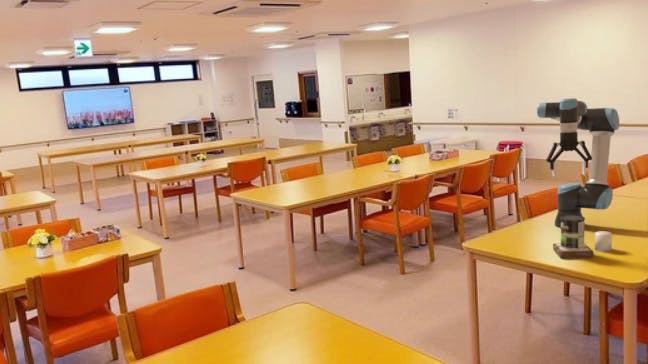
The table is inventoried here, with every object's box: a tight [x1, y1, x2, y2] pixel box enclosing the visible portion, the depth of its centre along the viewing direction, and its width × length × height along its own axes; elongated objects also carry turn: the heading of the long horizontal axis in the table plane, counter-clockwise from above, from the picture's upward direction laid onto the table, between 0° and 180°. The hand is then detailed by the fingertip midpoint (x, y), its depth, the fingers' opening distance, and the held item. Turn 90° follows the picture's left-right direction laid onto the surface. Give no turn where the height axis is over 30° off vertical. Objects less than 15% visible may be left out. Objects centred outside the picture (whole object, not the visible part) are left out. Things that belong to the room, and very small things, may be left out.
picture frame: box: [552, 242, 594, 260], centre depth 256 cm, size 14×14×3 cm
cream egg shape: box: [594, 230, 613, 253], centre depth 258 cm, size 7×7×8 cm
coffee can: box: [560, 215, 586, 250], centre depth 255 cm, size 10×10×14 cm
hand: (569, 175), depth 263 cm, fingers open, 13 cm apart
